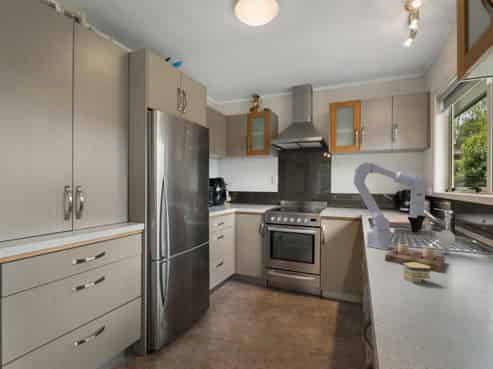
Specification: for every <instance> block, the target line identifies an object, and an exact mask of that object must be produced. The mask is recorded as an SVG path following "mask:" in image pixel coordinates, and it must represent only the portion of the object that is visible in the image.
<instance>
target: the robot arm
mask: <svg viewBox="0 0 493 369" xmlns="http://www.w3.org/2000/svg"><path fill="white" fill-rule="evenodd" d="M376 173H377V174H379V175H381V176H385V177H387V178H391V179H393V181H394V183H396V184H399V185H402V186H405V187H407V188H410V200H409V201H410V202H409V203H410V204H409V214H410V215H411V216H407V220H408V221H409V225H410V228H411V233H415V234H416V233H417V234H418V233H419V231H420V232H421V231H422V227H423V223H424V221H425V219H426V217H427V216H426V215H428V212H425V204H426V194H425V193H426V189H427V187H428V184H427V181H426V180H425V179H424V178H420V177H419V178H418V177H417V175H411V174H409V173H407V171H397V172H396V171H393V170H390V169H388V168H386V167H384V166H381V165H378V164H375V163H369V162H368V161H363V162H360V163H359V164H357V165H356V168H355V169H354V176H353V184H354V186H355V188H356V190H357V191H358V193H359V195H360V198H362V201H363V202H364V204H365V206H366V207H367V209H368V211H369V213H370V216H371V217H372V222H373V224H374V226H373V227H371V228H368V230H367V237H366V238H367V239H366V240H367V241H366V247H370V248H373V249H375V248H376V249H381V250H386V251H388V250H389V249H391V248H392V246H391V245H390V227H391V221H390V220H389V219H388V218H387V217H385V216H384V213H383V212H382V211H381V210H380V208H379V206H378V204H377V202H376V201H375V199H374V197H373V195H372V193H371V192H370V190H369V188H368V186H367V185H366V183H365V181H366V178H367V176H368V175H369V174H376Z"/></svg>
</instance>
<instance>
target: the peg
mask: <svg viewBox="0 0 493 369" xmlns="http://www.w3.org/2000/svg"><path fill="white" fill-rule="evenodd" d="M422 253H423V259H427V260H432V261H434V255H435V254H434V253H435V250H434V249H431V248H423V249H422Z"/></svg>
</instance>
